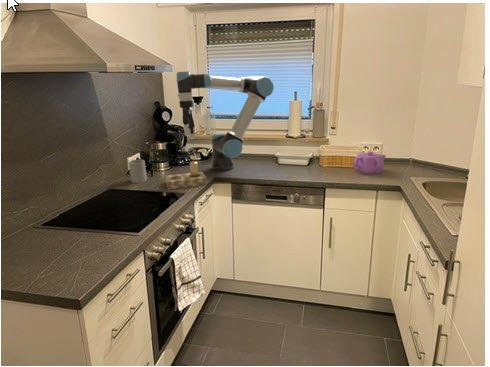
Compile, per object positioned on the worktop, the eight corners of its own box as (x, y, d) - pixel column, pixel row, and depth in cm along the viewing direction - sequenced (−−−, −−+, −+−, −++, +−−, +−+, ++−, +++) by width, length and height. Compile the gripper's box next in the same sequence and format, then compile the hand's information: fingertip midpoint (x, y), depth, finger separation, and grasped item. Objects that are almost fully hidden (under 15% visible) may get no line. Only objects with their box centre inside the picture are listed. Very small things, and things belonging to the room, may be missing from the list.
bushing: (198, 180, 208) (196, 161, 204) (199, 182, 204) (198, 162, 200) (190, 181, 207) (189, 161, 203) (192, 183, 203) (190, 163, 199)
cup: (141, 183, 206) (138, 163, 203) (128, 182, 209) (125, 163, 205) (149, 178, 215) (147, 159, 211) (136, 177, 217) (134, 159, 214)
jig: (202, 177, 213) (201, 171, 212) (206, 184, 200) (206, 177, 199) (165, 182, 207) (165, 175, 206) (168, 189, 194) (167, 182, 193)
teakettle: (352, 173, 211) (353, 154, 208) (356, 166, 226) (357, 148, 222) (382, 176, 204) (384, 156, 201) (384, 169, 219) (386, 149, 215)
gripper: (175, 99, 207) (179, 134, 213) (183, 102, 185) (188, 141, 191) (187, 98, 209) (191, 133, 216) (197, 101, 187) (201, 140, 194)
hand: (189, 137), depth 204 cm, fingers open, 13 cm apart
